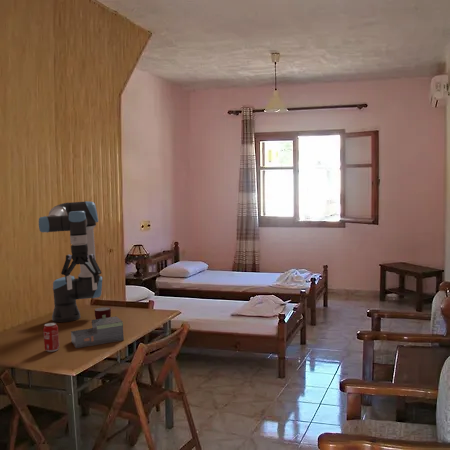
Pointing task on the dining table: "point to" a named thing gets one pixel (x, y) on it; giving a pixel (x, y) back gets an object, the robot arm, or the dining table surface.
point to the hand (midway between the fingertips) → (82, 289)
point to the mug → (102, 312)
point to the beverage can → (51, 337)
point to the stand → (99, 332)
